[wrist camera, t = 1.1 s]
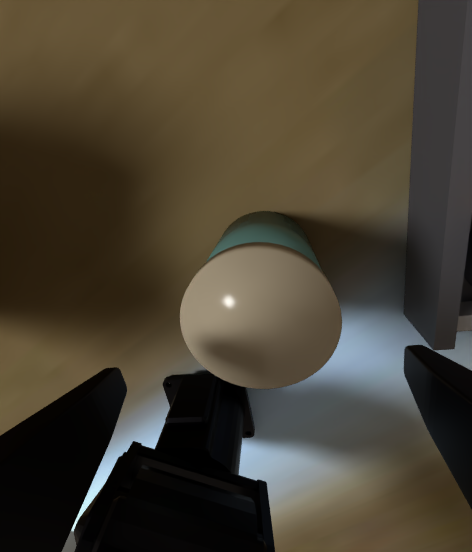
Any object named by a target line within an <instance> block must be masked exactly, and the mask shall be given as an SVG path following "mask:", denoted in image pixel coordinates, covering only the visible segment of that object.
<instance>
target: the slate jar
mask: <svg viewBox="0 0 472 552" xmlns="http://www.w3.org/2000/svg"><path fill="white" fill-rule="evenodd" d="M464 277H465V279H466V280H467V282H468V283H469V284H470V285H471V286H472V230H471V231H470V233H469V240H468V247H467V255H466V263H465V271H464Z"/></svg>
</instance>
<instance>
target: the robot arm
mask: <svg viewBox="0 0 472 552" xmlns="http://www.w3.org/2000/svg"><path fill="white" fill-rule="evenodd" d="M404 374H405V377H406V380H407V382H408V385H409V387H410V389H411V392H412V394H413V396H414V399H415V401H416V404H417V406H418V408H419V411H420V413H421V416H422V418H423V420H424V422H425V425H426V427H427V429H428V431H429V433H430V435H431V437H432V439H433V440H434V442H435V444H436V446H437V448H438V449H439V451H440V453H441V455H442V457H443V459H444V460H445V462H446V464H447V466H448V468H449V469H450V471H451V473H452V475H453V477H454V478H455V480H456V482H457V484H458V486H459V487H460V489H461V491H462V493H463V495H464V496H465V498H466V500H467V502H468V504H469V506H470V507H471V509H472V371H471V370H469V369H467V368H465V367H463V366H462V365H460V364H458V363H456V362H454V361H452V360H450V359H448V358H446V357H444V356H442V355H440V354H438V353H437V352H435V351H433V350H431V349H429V348H427V347H425V346H423V345H410V346H407V347H406V348H405V352H404ZM169 383H171V384H169ZM163 387H164V390H165V393H166V396H167V399H168V402H169V405H170V409H169V412H168V414H167V417H166V422H165V424H164V427H163V430H162V432H161V435H160V437H159V440H158V442H157V445H156V447H155V449H152V448H149V447H145V446H142V444H141V443H138V442H135V441H133V442H132V444H131V446H130V448H129V449H128V451H127V453H126V452H124V453H123V455H122V456H120V457H119V458H118V460H117V462H116V464H115V466H114V468H113V470H112V472H111V474H110V475H109V477H108V479H107V481H106V483H105V484H104V486H103V487H102V489H101V490H100V491H99V493H98V494H97V495H96V497H95V498H94V499H93V501H92V502H91V503H90V505H89V506H88V507H87V509H86V510H85V511H84V513H83V514H82V516H81V517H80V518H79V520H78V522H77V524H76V527H75V529H74V536H75V540H76V545H77V546H76V549H75V552H275V547H274V539H273V531H272V523H271V515H270V507H269V499H268V491H267V483H266V482H265V481H262V480H257V481H256V480H253V479H249V478H246V477H243V476H240V475H238V474H239V464H240V455H241V445H242V438H250V437H253V436H254V433H255V428H254V423H253V418H252V413H251V408H250V403H249V399H248V394H247V389H246V387H243V386H239V385H235V384H232V383H230V382H227V381H225V380H223V379H221V378H219V377H217V376H215V375H214V374H202V375H185V376H169V377H166V378H165V380H164V382H163ZM126 393H127V386H126V383H125V381H124V378H123V376H122V373H121V371H120V369H119V368H117V367H114V368H106V369H104V370H102V371H101V372H99V373H98V374H96V375H94V376H93V377H91V378H90V379H88V380H87V381H85V382H83V383H82V384H80V385H79V386H77V387H76V388H74V389H73V390H71V391H69V392H68V393H66V394H65V395H63V396H62V397H60V398H58V399H57V400H55V401H54V402H52V403H51V404H49V405H48V406H46V407H44V408H43V409H41V410H40V411H38V412H37V413H35V414H33V415H32V416H30V417H29V418H27V419H26V420H24V421H22V422H21V423H19V424H18V425H16V426H15V427H13V428H12V429H10V430H8V431H7V432H5V433H4V434H2V435H1V436H0V552H61V551H62V549H63V547H64V545H65V542H66V540H67V538H68V536H69V534H70V531H71V529H72V527H73V524H74V522H75V520H76V518H77V515H78V513H79V511H80V509H81V506H82V504H83V502H84V499H85V497H86V495H87V493H88V490H89V488H90V486H91V484H92V481H93V479H94V477H95V474H96V472H97V470H98V468H99V465H100V463H101V461H102V459H103V456H104V454H105V452H106V449H107V447H108V445H109V442H110V440H111V438H112V435H113V432H114V429H115V426H116V423H117V420H118V417H119V414H120V411H121V408H122V405H123V402H124V399H125V396H126Z"/></svg>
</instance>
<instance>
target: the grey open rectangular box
mask: <svg viewBox="0 0 472 552" xmlns="http://www.w3.org/2000/svg"><path fill="white" fill-rule="evenodd" d="M471 230H472V0H419V4H418V24H417V45H416V66H415V87H414V108H413V129H412V150H411V170H410V191H409V212H408V233H407V254H406V275H405V296H404V315H405V316H406V318H407V319H408V320H409V321H410V322H411V324H412V325H413V326H414V327H415V328H416V330H417V331H418V332H419V333H420V335H421V336H422V337H423V338H424V339H425V341H426V342H427V343H428V344H429V345H430V347H431V348H432V349H433V350H447V349H454V348H455V340H456V333H457V331H470V330H472V286H471V285H470V284H469V283H468V282H467V280H466V279H465V277H464V271H465V263H466V255H467V247H468V240H469V233H470V231H471Z"/></svg>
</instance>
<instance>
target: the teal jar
mask: <svg viewBox="0 0 472 552" xmlns="http://www.w3.org/2000/svg"><path fill="white" fill-rule="evenodd" d="M180 325H181V330H182V334H183V337H184V340H185V342H186V344H187V346H188V348H189V350H190V351H191V353H192V354H193V356H194V357H195V358H196V359H197V360H198V362H199V363H200V364H201V365H202V366H204V367H205V368H206V369H207V370H208V371H210V372H211V373H212V374H214V375H215V376H217V377H219V378H221V379H223V380H225V381H227V382H230V383H232V384H235V385H239V386H243V387H247V388H255V389H273V388H280V387H285V386H289V385H292V384H295V383H298V382H300V381H302V380H305V379H306V378H308V377H310V376H311V375H313V374H314V373H316V372H317V371H318V370H319V369H321V368H322V367H323V366H324V365H325V364H326V362H327V361H328V360H329V359H330V357H331V356H332V354H333V353H334V351H335V349H336V347H337V344H338V342H339V339H340V334H341V329H342V316H341V309H340V306H339V302H338V300H337V297H336V295H335V293H334V291H333V289H332V286H331V284H330V282H329V280H328V279H327V277H326V276H325V274H324V272H323V271H322V270H321V268H320V265H319V263H318V261H317V258H316V256H315V254H314V251H313V249H312V247H311V245H310V242H309V240H308V238H307V236H306V234H305V232H304V231H303V229H302V228H301V227H300V226H299V225H298V224H297V223H296V222H295V221H293V220H292V219H290V218H289V217H287V216H285V215H282V214H279V213H276V212H270V211H259V212H253V213H249V214H246V215H244V216H242V217H240V218H238V219H237V220H235V221H234V222H233V223H232V224H231V225H230V226H229V227H228V228H227V229H226V230H225V232H224V233H223V235H222V237H221V238H220V240H219V242H218V243H217V245H216V247H215V248H214V250H213V252H212V253H211V255H210V257H209V258H208V260H207V262H206V263H205V264H204V265H203V266H202V267H201V268H200V269H199V271H198V272H197V273H196V275H195V277H194V278H193V280H192V281H191V283H190V285H189V286H188V288H187V290H186V292H185V294H184V297H183V300H182V304H181V309H180Z"/></svg>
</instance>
